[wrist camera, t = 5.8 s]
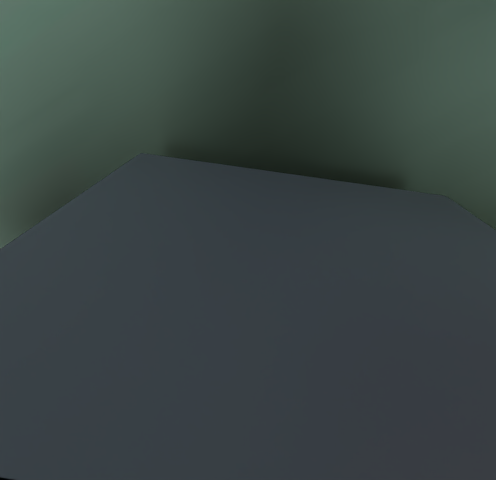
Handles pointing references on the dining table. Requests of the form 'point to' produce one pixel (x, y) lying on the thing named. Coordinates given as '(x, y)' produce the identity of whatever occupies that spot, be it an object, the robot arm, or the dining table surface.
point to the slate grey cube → (248, 332)
